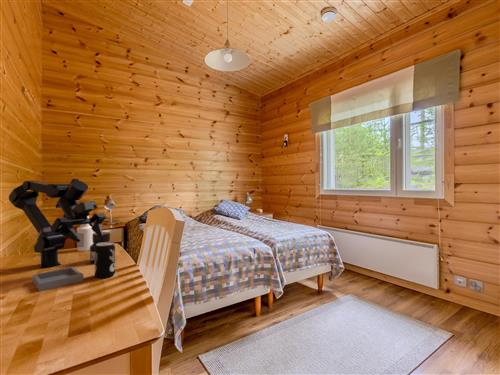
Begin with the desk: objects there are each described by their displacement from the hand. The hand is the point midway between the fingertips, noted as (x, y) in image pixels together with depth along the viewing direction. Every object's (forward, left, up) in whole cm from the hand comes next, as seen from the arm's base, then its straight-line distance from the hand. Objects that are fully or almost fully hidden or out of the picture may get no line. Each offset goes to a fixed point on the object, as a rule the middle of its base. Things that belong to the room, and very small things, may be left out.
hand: (91, 239), depth 99 cm
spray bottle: (-41, +10, -13) cm, 44 cm away
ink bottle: (-15, +9, -13) cm, 22 cm away
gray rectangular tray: (+1, -10, -13) cm, 17 cm away
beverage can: (+7, +3, -13) cm, 15 cm away
